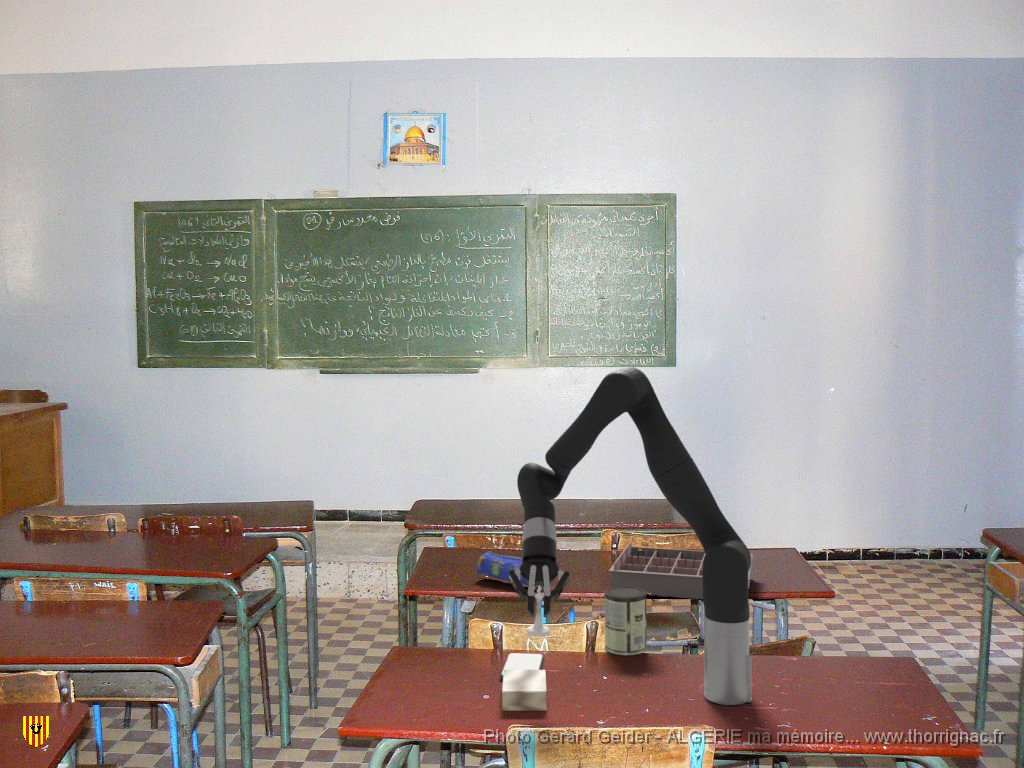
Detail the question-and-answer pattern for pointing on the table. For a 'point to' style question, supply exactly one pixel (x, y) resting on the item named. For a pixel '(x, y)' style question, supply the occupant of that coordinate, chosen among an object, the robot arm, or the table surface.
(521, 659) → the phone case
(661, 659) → the table surface
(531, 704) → the birch stand
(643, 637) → the coffee can
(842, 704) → the table surface
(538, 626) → the chess piece
